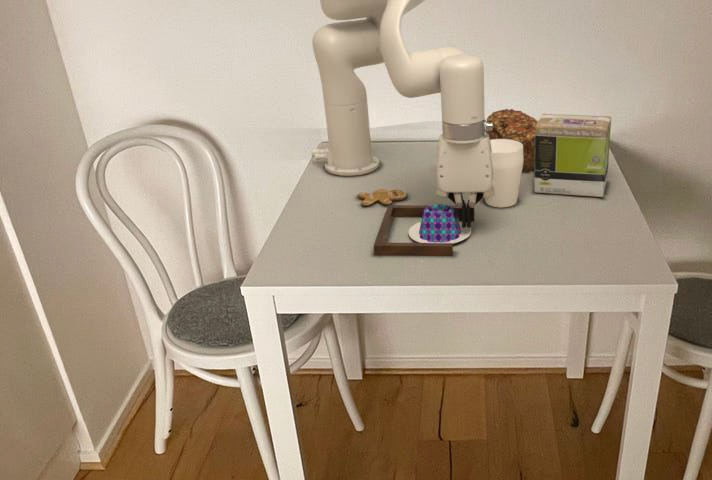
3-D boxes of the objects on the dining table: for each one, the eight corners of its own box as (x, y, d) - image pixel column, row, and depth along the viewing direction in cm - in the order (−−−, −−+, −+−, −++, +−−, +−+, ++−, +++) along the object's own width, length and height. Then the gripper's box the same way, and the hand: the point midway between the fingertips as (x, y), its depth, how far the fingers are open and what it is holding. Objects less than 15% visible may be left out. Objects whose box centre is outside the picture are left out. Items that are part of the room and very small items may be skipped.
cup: (519, 211, 154) (520, 154, 148) (475, 208, 156) (474, 152, 149) (525, 195, 162) (527, 140, 155) (484, 192, 163) (483, 137, 157)
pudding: (472, 221, 150) (471, 197, 147) (470, 248, 140) (469, 222, 137) (411, 221, 150) (410, 197, 148) (405, 248, 140) (403, 222, 138)
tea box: (607, 181, 168) (612, 115, 160) (603, 199, 159) (608, 129, 151) (540, 176, 170) (542, 111, 163) (532, 193, 162) (534, 125, 154)
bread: (484, 149, 186) (484, 108, 181) (524, 144, 189) (525, 104, 184) (513, 175, 172) (514, 131, 166) (556, 168, 175) (558, 126, 169)
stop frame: (374, 255, 138) (373, 245, 137) (388, 214, 154) (388, 204, 153) (452, 255, 138) (451, 246, 137) (458, 214, 153) (458, 205, 152)
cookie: (355, 190, 162) (401, 184, 164) (356, 194, 162) (401, 188, 165) (362, 204, 155) (410, 198, 158) (363, 209, 156) (410, 202, 158)
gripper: (505, 122, 137) (506, 217, 147) (423, 123, 138) (429, 217, 147) (505, 135, 131) (505, 233, 140) (419, 136, 131) (425, 233, 141)
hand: (466, 224), depth 144 cm, fingers closed
